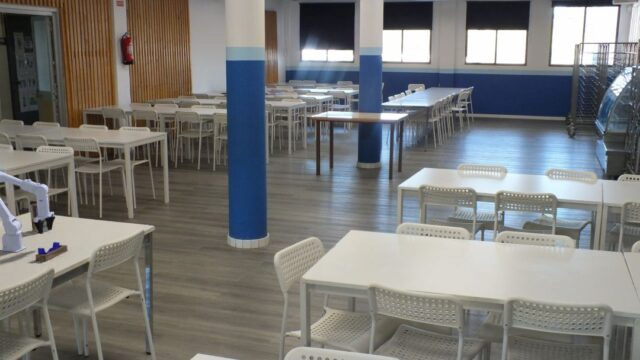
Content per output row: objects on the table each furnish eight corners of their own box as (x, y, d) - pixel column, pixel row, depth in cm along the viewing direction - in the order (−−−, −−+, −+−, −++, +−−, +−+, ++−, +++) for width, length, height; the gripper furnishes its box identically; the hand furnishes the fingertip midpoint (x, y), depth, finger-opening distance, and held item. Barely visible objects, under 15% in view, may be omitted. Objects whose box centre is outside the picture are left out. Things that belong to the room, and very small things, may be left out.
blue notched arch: (53, 252, 349) (52, 241, 348) (60, 253, 348) (59, 242, 346) (36, 259, 338) (35, 248, 337) (43, 260, 337) (42, 249, 335)
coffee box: (51, 230, 389) (48, 204, 386) (41, 233, 384) (38, 206, 380) (41, 228, 394) (39, 202, 390) (31, 230, 388) (29, 204, 385)
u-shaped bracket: (35, 260, 335) (35, 255, 335) (57, 249, 353) (57, 244, 352) (46, 261, 334) (45, 255, 333) (67, 250, 351) (67, 245, 350)
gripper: (40, 210, 343) (43, 235, 345) (58, 204, 356) (60, 228, 359) (29, 210, 344) (31, 235, 347) (46, 203, 358) (48, 227, 361)
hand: (45, 231), depth 353 cm, fingers open, 7 cm apart
